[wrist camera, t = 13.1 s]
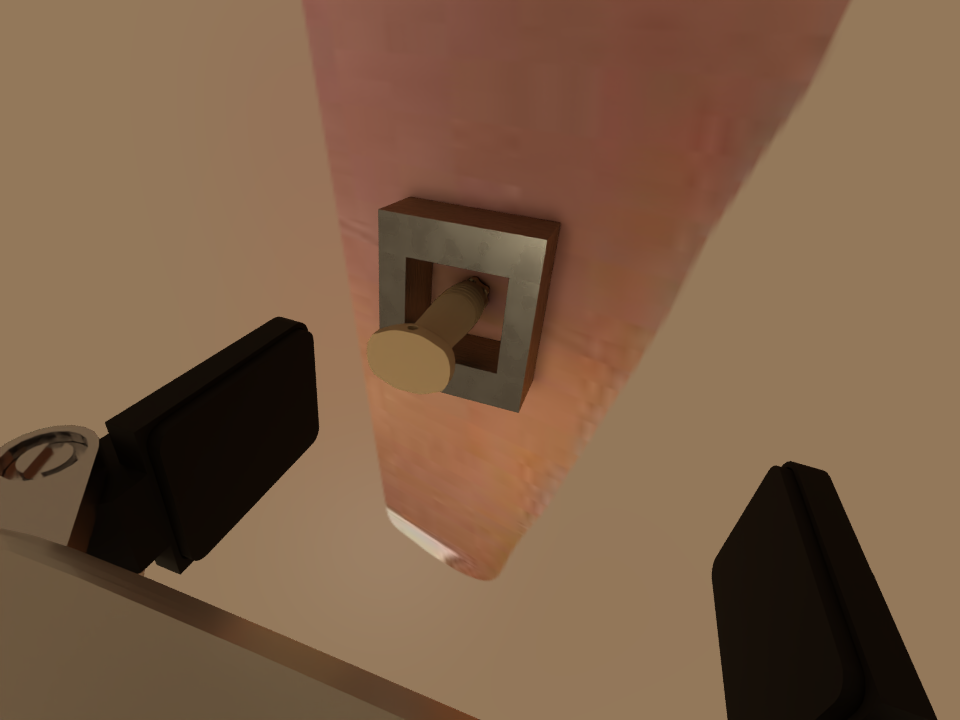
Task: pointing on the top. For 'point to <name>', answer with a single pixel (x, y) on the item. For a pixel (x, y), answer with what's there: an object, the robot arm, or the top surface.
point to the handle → (427, 341)
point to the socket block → (479, 247)
